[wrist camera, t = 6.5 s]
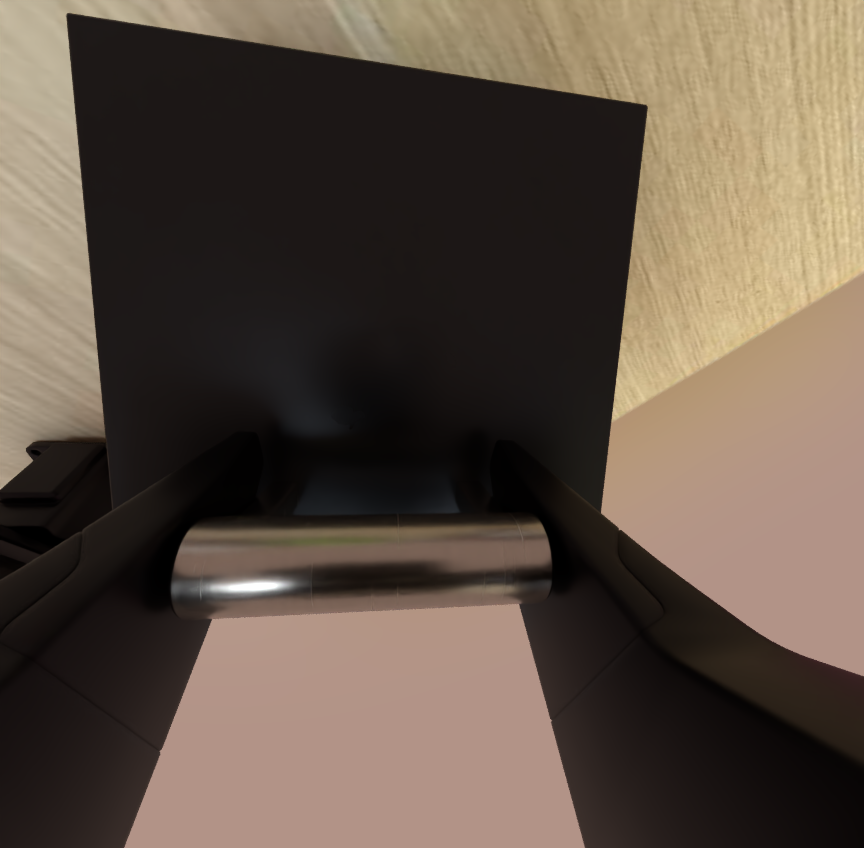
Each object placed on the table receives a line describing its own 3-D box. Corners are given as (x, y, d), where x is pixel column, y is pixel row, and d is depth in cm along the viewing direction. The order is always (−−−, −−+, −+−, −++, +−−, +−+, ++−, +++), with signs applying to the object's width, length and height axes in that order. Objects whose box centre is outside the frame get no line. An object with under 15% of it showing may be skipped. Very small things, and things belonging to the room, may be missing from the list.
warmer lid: (585, 535, 12) (735, 660, 7) (134, 546, 10) (-127, 727, 5) (630, 122, 10) (882, -134, 5) (90, 40, 8) (-390, -499, 3)
